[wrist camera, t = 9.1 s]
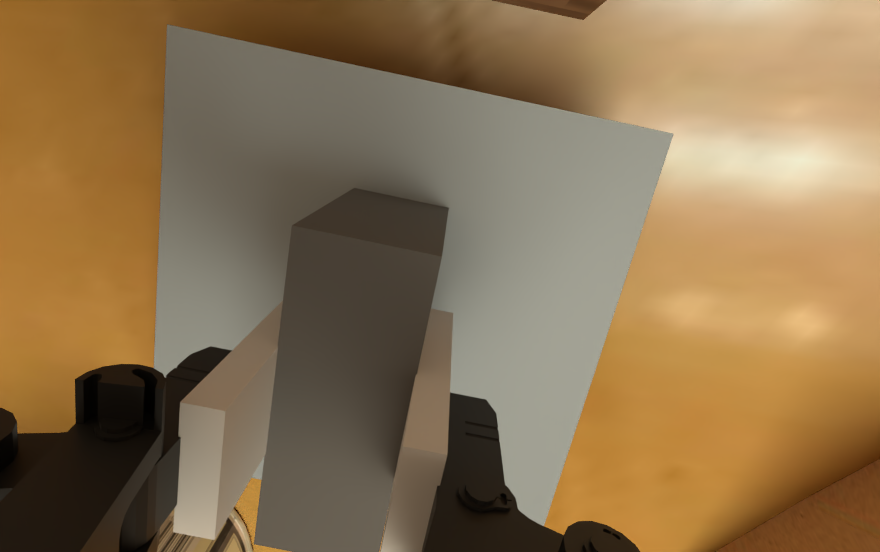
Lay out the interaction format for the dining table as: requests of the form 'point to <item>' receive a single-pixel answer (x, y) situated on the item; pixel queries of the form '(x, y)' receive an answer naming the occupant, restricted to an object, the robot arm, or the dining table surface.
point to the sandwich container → (824, 520)
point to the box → (560, 6)
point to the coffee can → (227, 548)
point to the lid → (388, 263)
